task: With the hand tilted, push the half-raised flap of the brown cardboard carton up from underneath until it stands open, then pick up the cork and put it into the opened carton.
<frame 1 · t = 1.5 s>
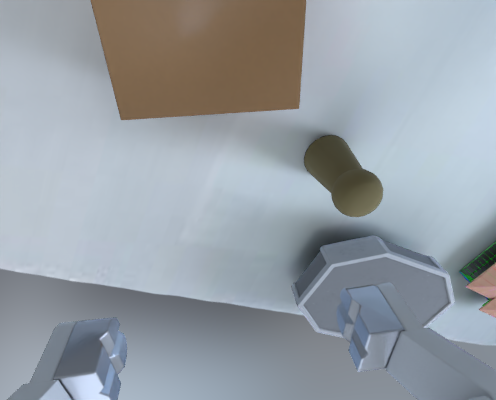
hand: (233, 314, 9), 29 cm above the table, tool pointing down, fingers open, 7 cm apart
cork: (325, 156, 40), on the table
first aid kit: (358, 268, 53), on the table
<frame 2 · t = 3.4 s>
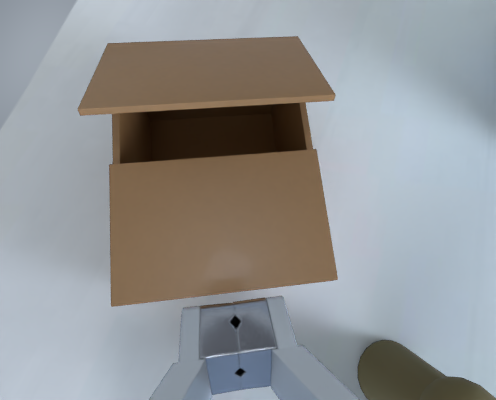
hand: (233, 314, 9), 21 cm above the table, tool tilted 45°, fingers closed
carton: (218, 194, 31), on the table
cork: (387, 373, 29), on the table
flap: (208, 68, 19), point 13 cm above the table, hinge at 30.0°
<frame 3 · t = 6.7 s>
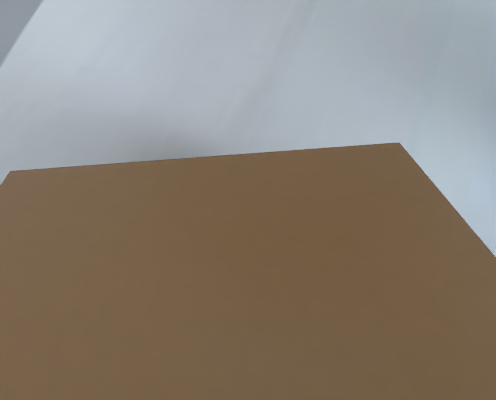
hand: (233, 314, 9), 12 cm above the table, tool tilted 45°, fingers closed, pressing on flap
flap: (227, 263, 8), point 13 cm above the table, hinge at 32.2°, touching gripper
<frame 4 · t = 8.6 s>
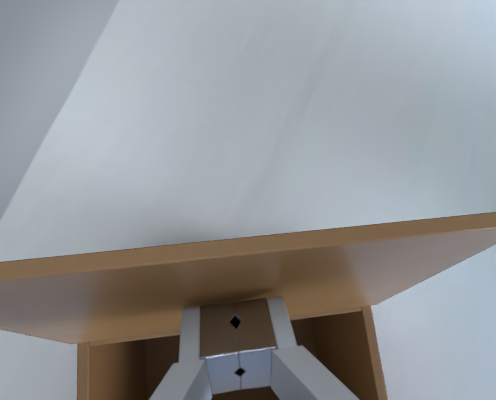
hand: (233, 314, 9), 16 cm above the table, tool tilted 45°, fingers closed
flap: (230, 296, 10), point 15 cm above the table, hinge at 107.6°
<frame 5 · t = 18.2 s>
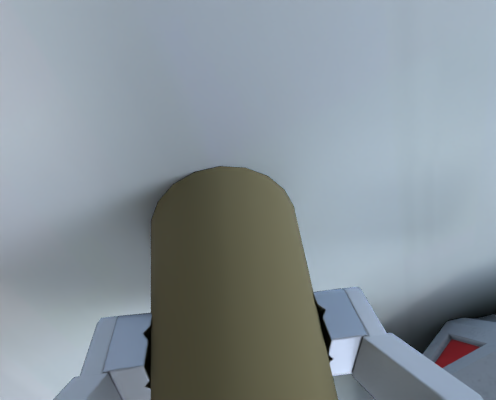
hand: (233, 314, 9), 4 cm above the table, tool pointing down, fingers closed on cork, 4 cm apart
cork: (225, 228, 13), on the table, touching gripper
when the fingers open (5 cm above the table, at t = 27.5 s): cork stays where it is, resting on carton.
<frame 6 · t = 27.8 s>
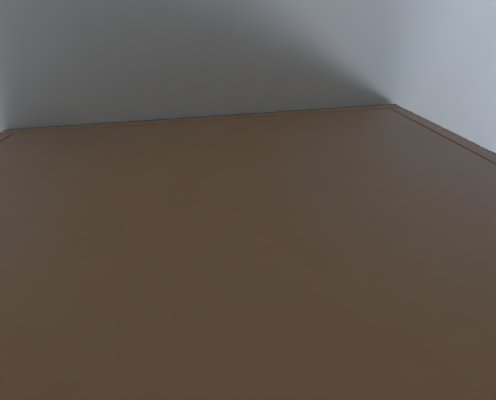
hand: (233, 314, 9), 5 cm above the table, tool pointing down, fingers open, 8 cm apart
carton: (227, 287, 16), on the table
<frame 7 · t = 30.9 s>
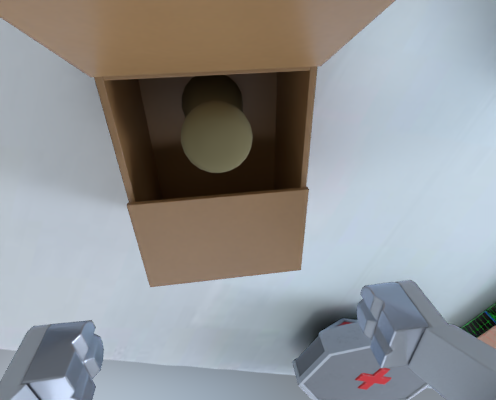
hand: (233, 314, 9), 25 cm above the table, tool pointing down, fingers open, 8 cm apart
carton: (214, 141, 33), on the table
cork: (212, 103, 30), resting on carton
first aid kit: (354, 337, 57), on the table
flap: (208, 39, 14), point 15 cm above the table, hinge at 114.7°
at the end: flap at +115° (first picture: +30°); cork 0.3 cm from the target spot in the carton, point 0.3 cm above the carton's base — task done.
